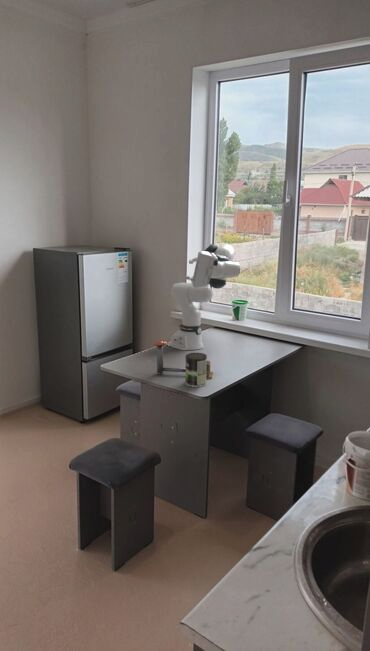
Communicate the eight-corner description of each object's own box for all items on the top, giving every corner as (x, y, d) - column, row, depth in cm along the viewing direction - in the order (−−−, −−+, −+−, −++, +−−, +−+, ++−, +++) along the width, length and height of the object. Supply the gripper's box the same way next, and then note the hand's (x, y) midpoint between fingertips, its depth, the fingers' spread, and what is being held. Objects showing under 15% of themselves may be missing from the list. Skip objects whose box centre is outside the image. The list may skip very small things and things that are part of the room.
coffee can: (186, 387, 237) (186, 359, 233) (184, 379, 247) (184, 352, 243) (207, 386, 238) (208, 358, 234) (205, 379, 248) (205, 352, 244)
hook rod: (152, 374, 253) (152, 343, 249) (155, 370, 259) (154, 339, 255) (195, 376, 250) (195, 344, 246) (196, 372, 256) (196, 341, 252)
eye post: (197, 378, 249) (197, 365, 247) (199, 373, 257) (199, 360, 255) (211, 378, 248) (211, 365, 246) (212, 373, 256) (213, 360, 254)
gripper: (206, 283, 272) (182, 283, 267) (213, 249, 260) (189, 249, 255) (209, 289, 267) (185, 289, 262) (218, 255, 256) (193, 255, 251)
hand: (187, 269), depth 259 cm, fingers open, 8 cm apart
